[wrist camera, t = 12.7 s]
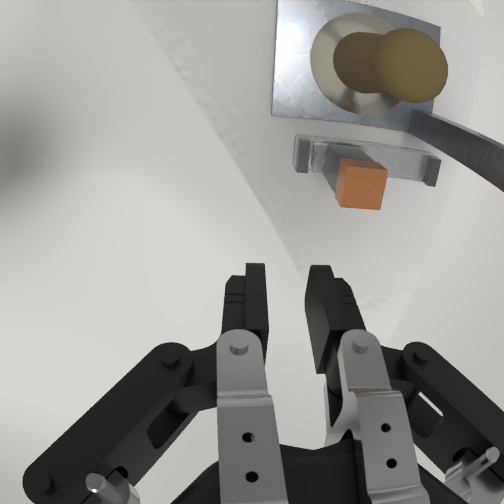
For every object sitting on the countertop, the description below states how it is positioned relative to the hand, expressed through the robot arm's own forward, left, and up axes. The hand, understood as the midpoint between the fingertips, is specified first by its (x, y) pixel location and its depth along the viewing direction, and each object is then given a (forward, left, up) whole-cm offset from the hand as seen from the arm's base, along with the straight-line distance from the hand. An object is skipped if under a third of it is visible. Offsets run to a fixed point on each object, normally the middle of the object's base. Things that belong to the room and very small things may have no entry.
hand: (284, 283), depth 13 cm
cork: (+8, +10, -19) cm, 23 cm away
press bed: (+8, +10, -21) cm, 25 cm away
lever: (+7, 0, -19) cm, 20 cm away
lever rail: (+10, 0, -21) cm, 24 cm away
